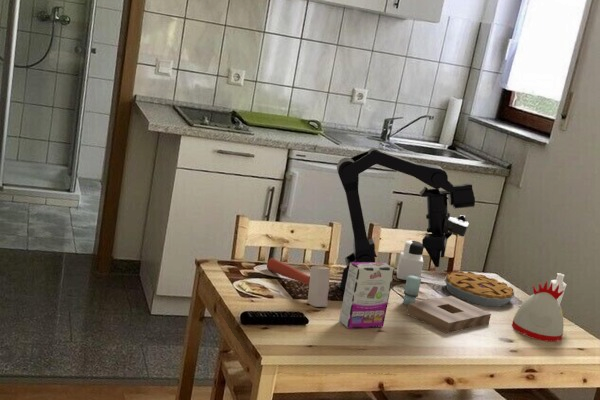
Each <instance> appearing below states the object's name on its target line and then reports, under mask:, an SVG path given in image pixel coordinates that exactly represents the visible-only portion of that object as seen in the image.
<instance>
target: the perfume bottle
mask: <svg viewBox="0 0 600 400" xmlns="http://www.w3.org/2000/svg"><path fill="white" fill-rule="evenodd" d="M556 274H557V275H556V279H551V280H550V283H549V286H550V285H551V283H552V290H553V291H554V290H555V289H556V287H557V286H558V285H559V289H558V292H561V291H563V290H564V291H563V293H562V294H561V295H560V296H559V297H558V298H557V301H558V302H559V304H560V305H561V302H562V299H563V296H564V294H565V290H566V287H567V283H565V282H564V278H565V275H566V274H563V273H560V272H559V273H558V272H557V273H556Z"/></svg>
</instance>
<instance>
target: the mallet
mask: <svg viewBox="0 0 600 400" xmlns="http://www.w3.org/2000/svg"><path fill="white" fill-rule="evenodd" d="M266 268H267V269H268V270H269V271H270V270H271V272H272V271H273V273H275V274H276V275H277V274H278V275H280V276H283V277H285V278H287V279H290V280H294V281H297V282H300V283H302V284H305V285H307V286H308V295H307V303H308V304H309V305H310V306H312V307H315V308H319V307H320V308H321V307H323V308H324V307H326V308H327V307H328V296H329V290H330V273H331V269H330V268H329V267H327V266H323V265H320V266H319V265H315V266H314V265H313V266H311V267H310V275H308V274H305V273H303V272H302V271H300V270H298V269H296V268H294V267H293V266H291V265H289V264H286V263H283V261H280V260H277V259H275V258H273V257H271V258H269V259H268V260H267V263H266Z"/></svg>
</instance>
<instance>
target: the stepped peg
mask: <svg viewBox="0 0 600 400" xmlns="http://www.w3.org/2000/svg"><path fill="white" fill-rule="evenodd" d="M421 282H422V279H421V277H420V278H419V277H416V276H407V280H405V286H404V290H403V294H404V298H403V301H402V303H403V305H405V306H407V307H408V304H409V303H414V302H416V298H418V296H419V291H420V287H421Z"/></svg>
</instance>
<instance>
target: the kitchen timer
mask: <svg viewBox="0 0 600 400" xmlns="http://www.w3.org/2000/svg"><path fill="white" fill-rule="evenodd" d="M532 288H533V289H532V290H533V294H531V295H530V296H527V298H526V299H524V301H523V302H522V303H521V305H520V306H519V308H518V309H517V311H516V313H515V314H514V317H513V320H512V324H511V326H512V327H513V329H514V330H515V329H516V332H518V333H520V334H523V335H524V336H527V337H529V338H532V339H535V340H539V341H544V342H559V341H561V340H562V338H563V335H564V315H565V313H564V311H563V309H562V306H561V303H560V304H559V302H558V301H557V298H558V297H559V296H560V295H561V294H562V293H563V291H564V290H563V291H561V292H558V289H559V285H558V286H557V287H556V289H555V290H554V291H553V290H552V283H551V285H550V284H549V288H548V280H546V281H545V283H544V285H543V287H542V285H541V282H539V284H538V290H537V289H536V286H535V285H533V286H532ZM564 292H565V291H564Z"/></svg>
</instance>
